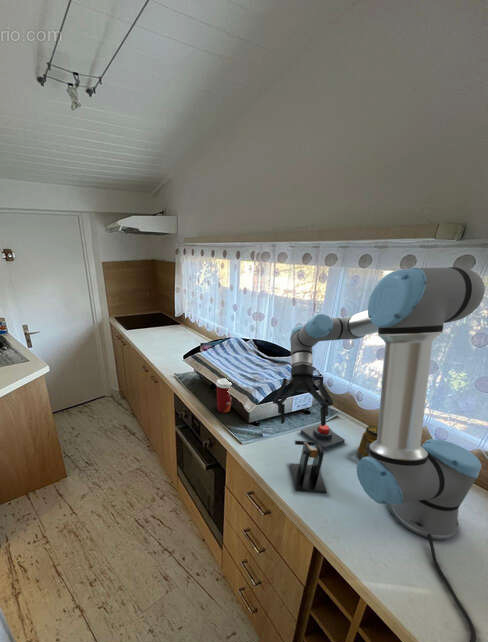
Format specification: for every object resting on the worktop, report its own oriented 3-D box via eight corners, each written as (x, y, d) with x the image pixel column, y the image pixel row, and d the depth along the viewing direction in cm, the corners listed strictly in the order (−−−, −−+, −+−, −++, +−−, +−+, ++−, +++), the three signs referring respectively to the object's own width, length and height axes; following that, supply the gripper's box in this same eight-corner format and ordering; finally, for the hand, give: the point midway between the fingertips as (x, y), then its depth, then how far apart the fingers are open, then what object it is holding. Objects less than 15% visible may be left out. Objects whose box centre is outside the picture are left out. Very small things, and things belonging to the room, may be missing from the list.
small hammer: (294, 445, 104) (295, 438, 103) (312, 446, 103) (313, 439, 103) (303, 457, 92) (303, 449, 92) (323, 458, 91) (324, 450, 91)
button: (330, 432, 114) (331, 428, 113) (323, 435, 113) (324, 430, 112) (323, 427, 117) (324, 423, 116) (316, 430, 116) (317, 425, 115)
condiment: (381, 459, 106) (391, 431, 100) (367, 468, 102) (377, 439, 96) (360, 448, 111) (369, 421, 106) (347, 457, 107) (355, 429, 102)
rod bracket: (289, 466, 104) (294, 435, 98) (316, 468, 103) (324, 437, 97) (295, 492, 93) (302, 459, 87) (325, 494, 92) (335, 461, 86)
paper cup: (233, 413, 134) (234, 385, 127) (215, 413, 134) (216, 385, 128) (231, 405, 141) (232, 377, 134) (214, 405, 141) (215, 377, 134)
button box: (343, 444, 114) (346, 435, 112) (323, 451, 110) (325, 442, 108) (319, 428, 123) (321, 419, 122) (300, 434, 120) (301, 425, 118)
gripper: (333, 372, 114) (336, 428, 108) (265, 369, 117) (264, 424, 111) (341, 364, 106) (344, 424, 101) (268, 362, 109) (267, 419, 104)
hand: (302, 424), depth 106 cm, fingers open, 13 cm apart
